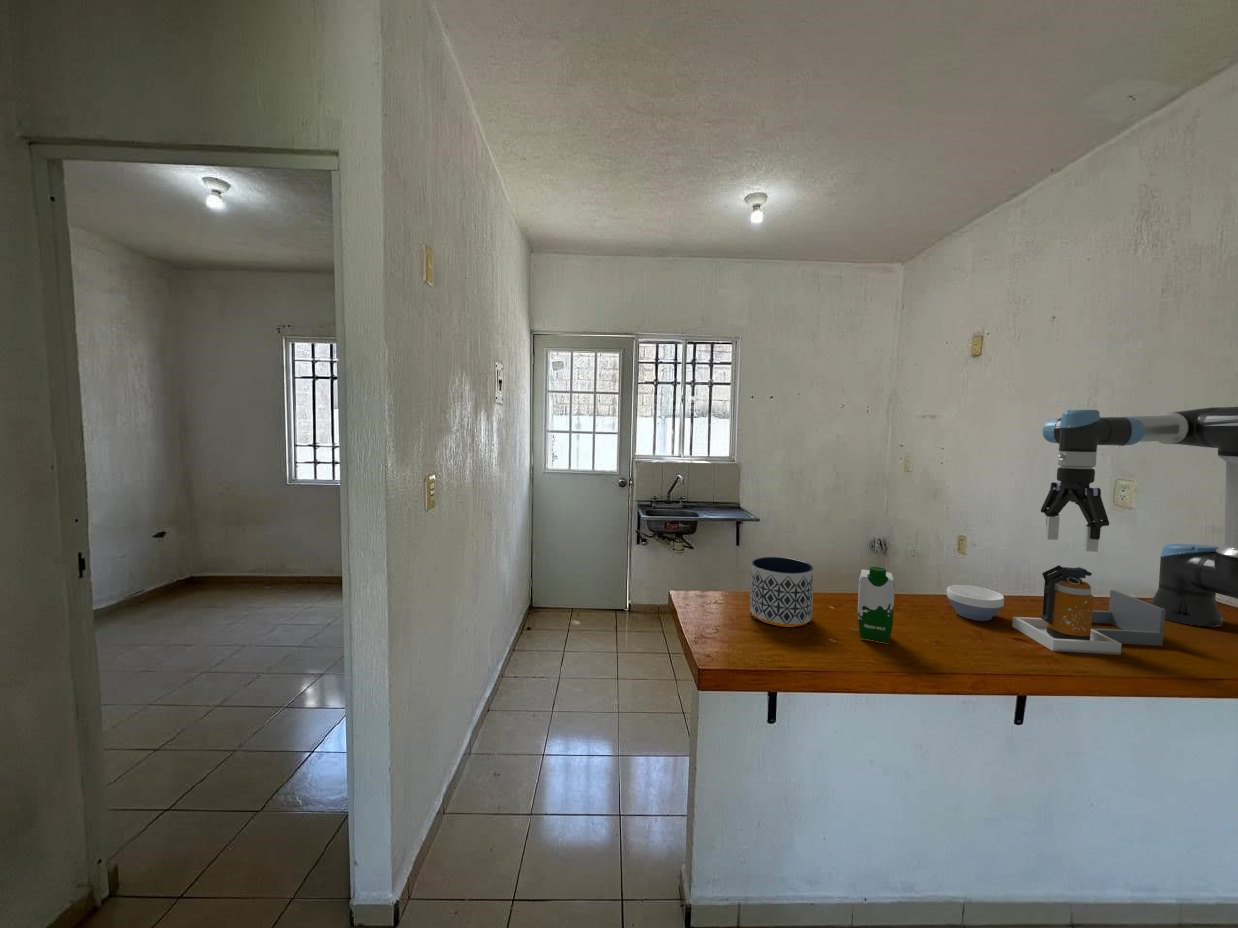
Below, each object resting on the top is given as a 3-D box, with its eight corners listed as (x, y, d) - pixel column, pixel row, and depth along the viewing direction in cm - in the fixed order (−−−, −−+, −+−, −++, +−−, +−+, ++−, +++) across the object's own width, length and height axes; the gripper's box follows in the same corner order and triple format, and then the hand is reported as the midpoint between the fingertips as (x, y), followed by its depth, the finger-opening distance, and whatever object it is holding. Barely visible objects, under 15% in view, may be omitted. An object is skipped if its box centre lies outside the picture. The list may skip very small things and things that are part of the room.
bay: (1111, 622, 149) (1114, 590, 149) (1162, 645, 134) (1165, 609, 133) (1053, 619, 151) (1055, 587, 151) (1096, 642, 136) (1099, 606, 135)
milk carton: (856, 640, 136) (860, 569, 134) (856, 628, 144) (859, 561, 142) (893, 646, 132) (897, 573, 130) (890, 634, 140) (894, 564, 139)
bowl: (951, 620, 150) (953, 596, 150) (941, 605, 164) (942, 582, 163) (1010, 628, 145) (1012, 603, 144) (994, 611, 158) (995, 588, 158)
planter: (769, 602, 165) (770, 553, 164) (822, 617, 152) (824, 565, 151) (738, 616, 153) (739, 563, 152) (793, 634, 140) (794, 577, 139)
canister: (1098, 646, 132) (1104, 572, 130) (1050, 642, 134) (1056, 569, 132) (1074, 632, 140) (1080, 563, 139) (1030, 629, 143) (1035, 561, 141)
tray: (1072, 629, 144) (1073, 619, 144) (1120, 654, 128) (1121, 643, 128) (1012, 626, 146) (1012, 616, 146) (1052, 650, 130) (1053, 639, 130)
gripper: (1028, 463, 146) (1023, 534, 148) (1099, 471, 122) (1092, 556, 123) (1056, 464, 145) (1051, 535, 147) (1133, 471, 121) (1126, 557, 122)
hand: (1070, 545), depth 135 cm, fingers open, 13 cm apart
